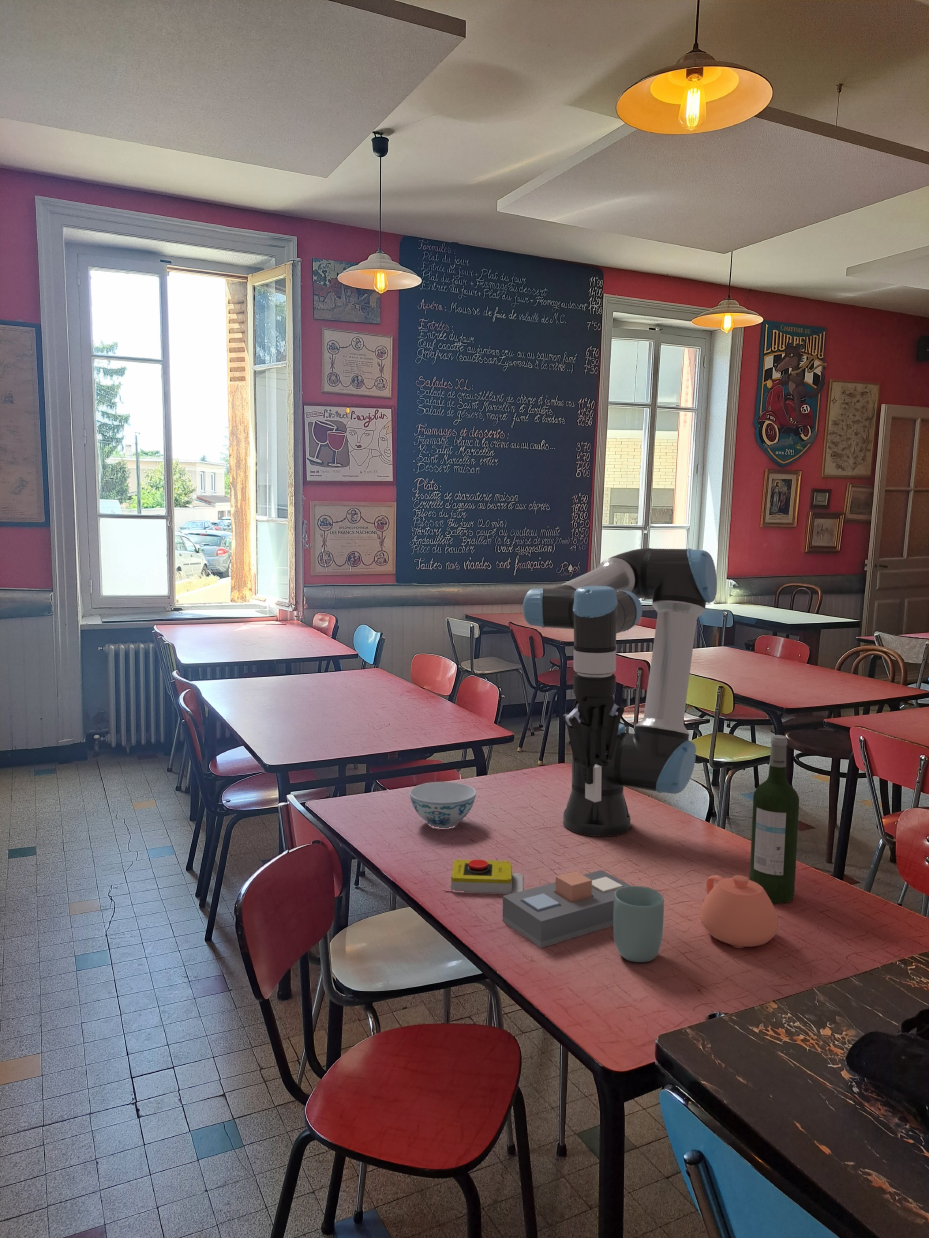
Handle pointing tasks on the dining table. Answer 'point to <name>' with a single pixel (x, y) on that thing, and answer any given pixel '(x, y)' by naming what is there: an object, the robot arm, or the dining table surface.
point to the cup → (638, 922)
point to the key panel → (560, 913)
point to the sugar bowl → (738, 912)
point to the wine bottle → (775, 829)
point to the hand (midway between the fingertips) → (593, 799)
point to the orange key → (573, 886)
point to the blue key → (540, 902)
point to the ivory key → (605, 885)
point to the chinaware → (442, 802)
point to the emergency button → (485, 877)
